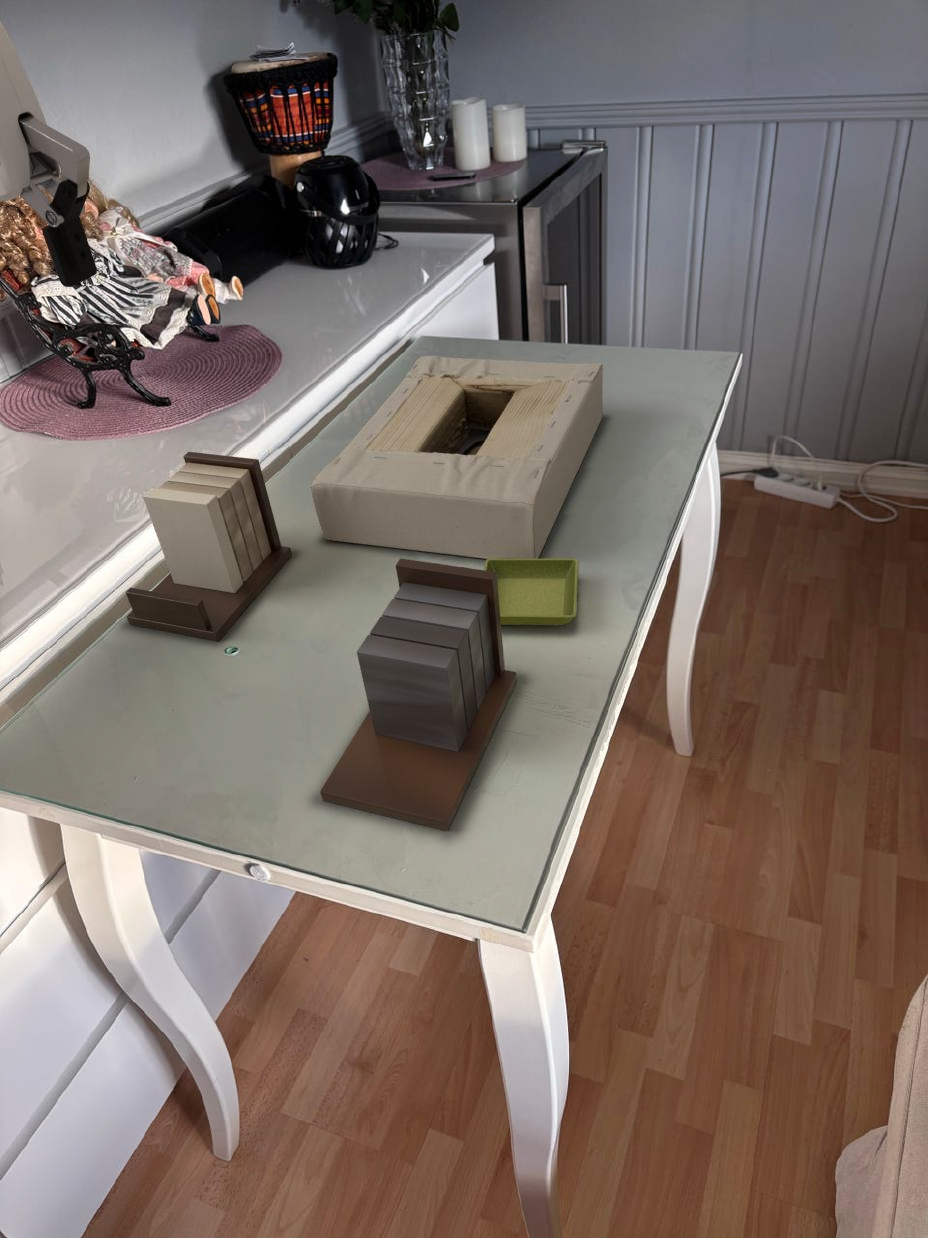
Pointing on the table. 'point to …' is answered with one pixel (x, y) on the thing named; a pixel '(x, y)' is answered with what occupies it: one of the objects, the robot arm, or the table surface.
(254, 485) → the dark brown rack
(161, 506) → the cream book
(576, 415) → the box
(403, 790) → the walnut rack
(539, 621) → the green tray
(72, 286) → the robot arm
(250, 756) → the table surface
